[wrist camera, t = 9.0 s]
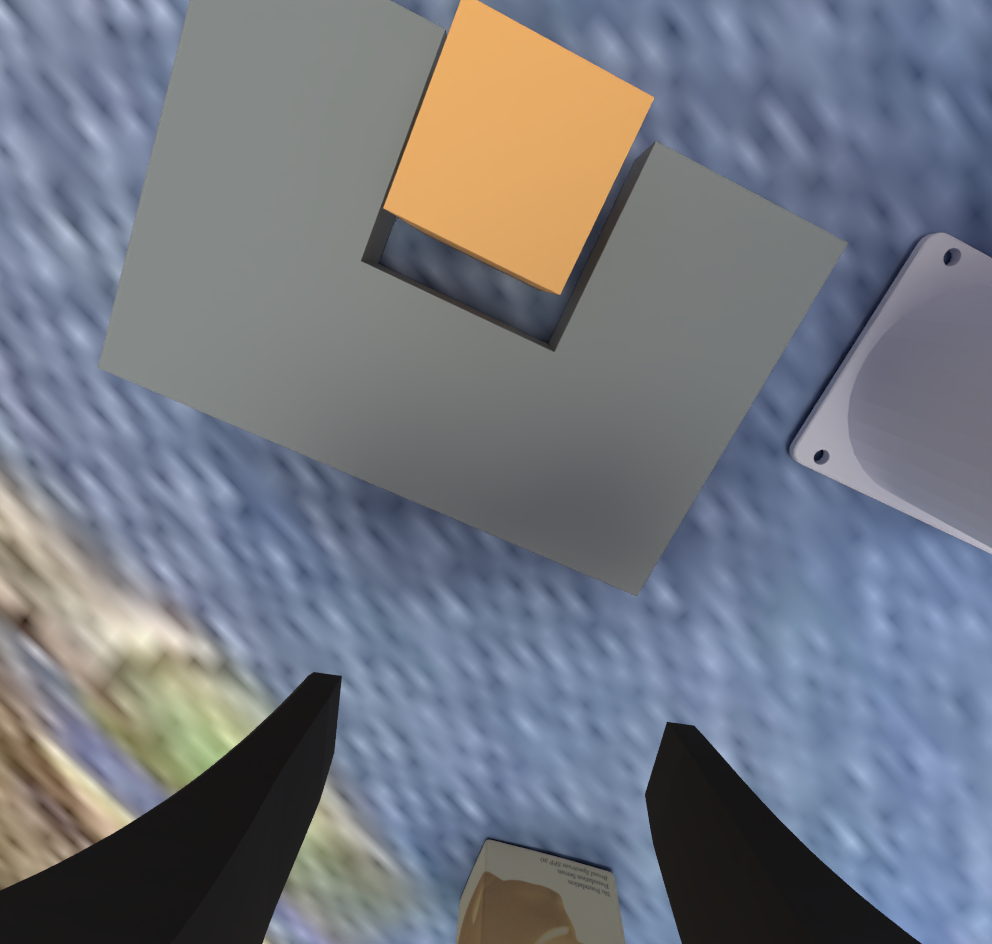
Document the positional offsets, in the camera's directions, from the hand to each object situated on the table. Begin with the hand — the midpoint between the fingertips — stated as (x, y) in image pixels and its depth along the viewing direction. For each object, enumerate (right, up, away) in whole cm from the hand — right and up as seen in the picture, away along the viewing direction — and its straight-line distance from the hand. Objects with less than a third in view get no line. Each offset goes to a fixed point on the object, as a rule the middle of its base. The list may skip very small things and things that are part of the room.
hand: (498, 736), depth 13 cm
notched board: (-1, +11, +6) cm, 13 cm away
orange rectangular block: (0, +14, +5) cm, 15 cm away
